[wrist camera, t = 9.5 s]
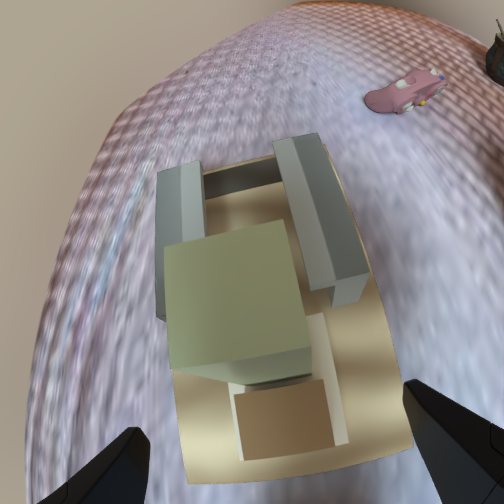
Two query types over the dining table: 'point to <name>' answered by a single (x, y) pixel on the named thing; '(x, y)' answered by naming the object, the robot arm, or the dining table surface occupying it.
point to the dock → (302, 210)
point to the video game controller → (406, 92)
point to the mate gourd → (496, 58)
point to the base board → (341, 342)
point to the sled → (254, 339)
